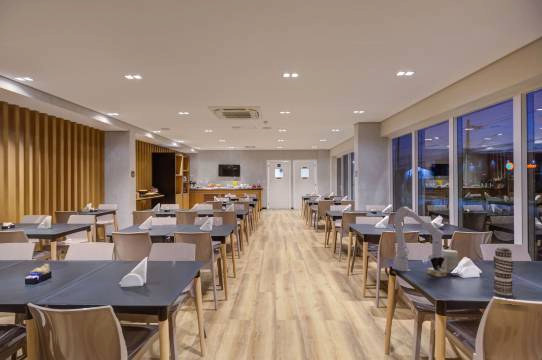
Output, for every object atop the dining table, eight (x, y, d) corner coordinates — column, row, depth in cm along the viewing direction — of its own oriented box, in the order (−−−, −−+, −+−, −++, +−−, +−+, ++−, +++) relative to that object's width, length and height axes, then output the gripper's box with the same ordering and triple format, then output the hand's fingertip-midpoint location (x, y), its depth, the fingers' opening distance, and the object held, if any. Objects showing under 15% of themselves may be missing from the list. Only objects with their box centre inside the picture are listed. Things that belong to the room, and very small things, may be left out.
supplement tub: (460, 273, 222) (461, 251, 223) (453, 275, 217) (453, 252, 217) (446, 269, 231) (446, 248, 231) (439, 271, 225) (439, 250, 226)
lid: (427, 270, 219) (427, 264, 219) (434, 269, 222) (434, 263, 222) (439, 273, 210) (439, 267, 210) (446, 272, 213) (447, 266, 213)
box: (427, 274, 219) (427, 269, 219) (434, 273, 222) (434, 268, 222) (439, 277, 211) (439, 273, 211) (446, 276, 214) (446, 271, 214)
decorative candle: (490, 289, 189) (490, 245, 189) (509, 291, 186) (509, 246, 186) (496, 294, 180) (496, 248, 180) (516, 296, 177) (516, 250, 178)
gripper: (434, 250, 210) (434, 271, 209) (450, 248, 216) (449, 269, 216) (425, 248, 216) (425, 268, 216) (440, 246, 222) (440, 266, 222)
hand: (436, 268), depth 216 cm, fingers closed on lid, 3 cm apart
